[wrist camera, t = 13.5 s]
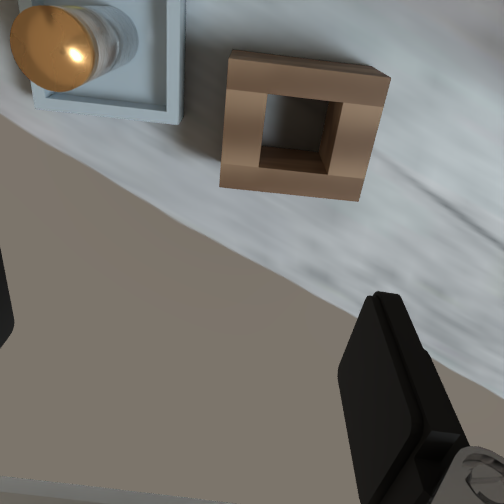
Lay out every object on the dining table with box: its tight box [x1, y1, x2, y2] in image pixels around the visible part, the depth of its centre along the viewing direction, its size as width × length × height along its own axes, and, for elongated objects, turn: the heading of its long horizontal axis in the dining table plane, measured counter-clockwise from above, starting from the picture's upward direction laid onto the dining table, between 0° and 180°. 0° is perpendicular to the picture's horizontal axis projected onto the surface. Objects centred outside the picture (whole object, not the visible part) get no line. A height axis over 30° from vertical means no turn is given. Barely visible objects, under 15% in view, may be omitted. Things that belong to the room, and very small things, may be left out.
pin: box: [10, 5, 139, 92], centre depth 29 cm, size 4×4×12 cm
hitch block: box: [219, 50, 391, 202], centre depth 35 cm, size 10×12×6 cm
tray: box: [18, 0, 186, 125], centre depth 33 cm, size 12×12×3 cm
